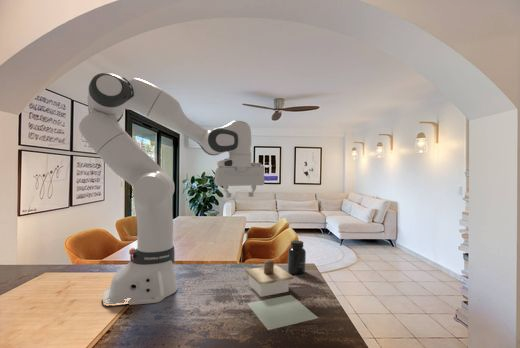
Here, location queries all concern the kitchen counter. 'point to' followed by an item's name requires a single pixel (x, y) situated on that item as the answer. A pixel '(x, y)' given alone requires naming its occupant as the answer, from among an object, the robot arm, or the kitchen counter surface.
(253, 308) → the sage mat
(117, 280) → the robot arm
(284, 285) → the white open box
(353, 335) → the kitchen counter surface
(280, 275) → the oak lid
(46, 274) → the kitchen counter surface
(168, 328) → the kitchen counter surface
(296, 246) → the supplement bottle
